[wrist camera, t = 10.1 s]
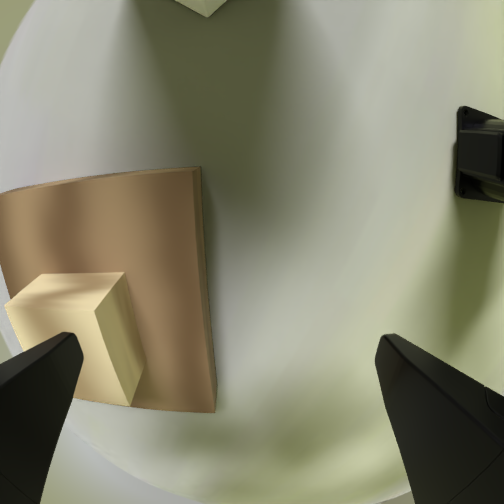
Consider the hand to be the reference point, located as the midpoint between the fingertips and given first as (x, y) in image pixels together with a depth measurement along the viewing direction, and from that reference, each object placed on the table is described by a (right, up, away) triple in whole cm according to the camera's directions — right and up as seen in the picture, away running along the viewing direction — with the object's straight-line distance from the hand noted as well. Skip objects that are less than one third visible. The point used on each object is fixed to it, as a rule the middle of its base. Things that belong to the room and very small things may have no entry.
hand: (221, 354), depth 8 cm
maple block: (-9, -1, +8) cm, 12 cm away
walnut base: (-9, 0, +11) cm, 14 cm away
